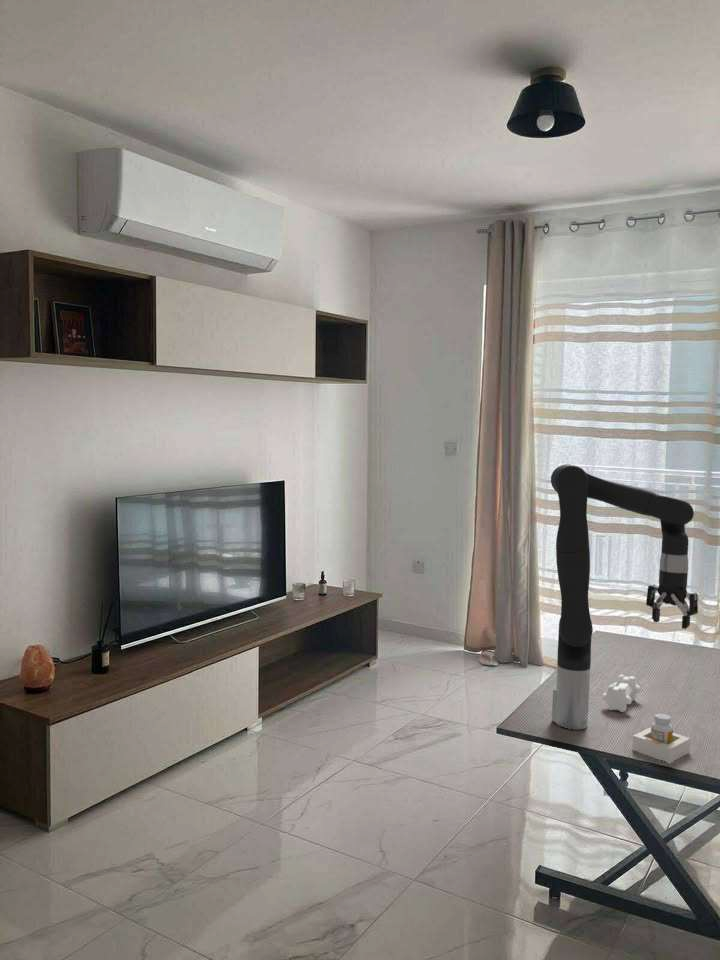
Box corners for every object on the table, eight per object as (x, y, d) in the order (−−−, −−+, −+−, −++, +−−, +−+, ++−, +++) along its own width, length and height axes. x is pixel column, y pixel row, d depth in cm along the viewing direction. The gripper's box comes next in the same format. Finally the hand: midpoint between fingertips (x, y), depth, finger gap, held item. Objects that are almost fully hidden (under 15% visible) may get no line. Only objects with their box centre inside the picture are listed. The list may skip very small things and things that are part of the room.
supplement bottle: (666, 747, 216) (668, 712, 215) (674, 755, 211) (677, 720, 210) (646, 747, 216) (648, 712, 215) (654, 755, 210) (656, 720, 210)
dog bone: (614, 697, 256) (613, 672, 256) (642, 700, 251) (641, 675, 251) (601, 711, 243) (600, 685, 243) (630, 715, 239) (629, 688, 238)
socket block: (632, 750, 214) (633, 734, 213) (652, 740, 221) (653, 725, 220) (669, 763, 206) (670, 747, 205) (689, 752, 213) (690, 737, 212)
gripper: (643, 566, 229) (640, 621, 230) (691, 574, 218) (688, 632, 220) (656, 563, 234) (653, 617, 235) (704, 571, 223) (701, 628, 225)
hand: (670, 625), depth 228 cm, fingers open, 8 cm apart
